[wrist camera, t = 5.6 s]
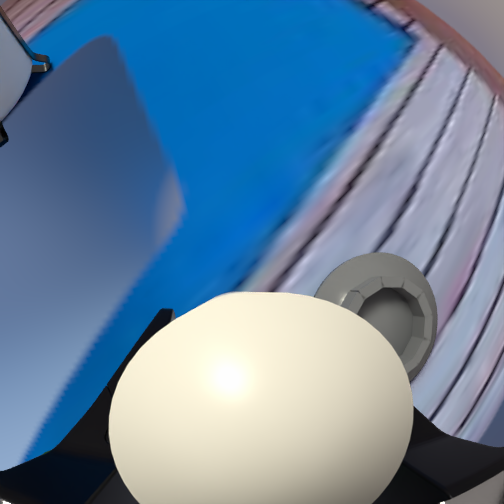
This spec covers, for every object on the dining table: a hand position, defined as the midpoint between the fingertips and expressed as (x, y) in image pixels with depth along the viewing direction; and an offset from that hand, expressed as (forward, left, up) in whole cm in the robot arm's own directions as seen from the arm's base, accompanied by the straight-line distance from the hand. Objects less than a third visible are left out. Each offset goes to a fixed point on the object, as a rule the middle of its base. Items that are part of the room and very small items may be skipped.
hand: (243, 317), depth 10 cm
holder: (+9, -7, -13) cm, 18 cm away
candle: (-1, -1, -7) cm, 7 cm away
